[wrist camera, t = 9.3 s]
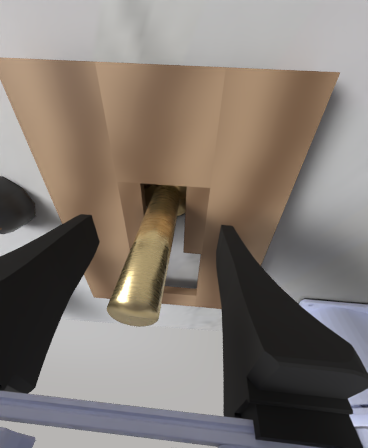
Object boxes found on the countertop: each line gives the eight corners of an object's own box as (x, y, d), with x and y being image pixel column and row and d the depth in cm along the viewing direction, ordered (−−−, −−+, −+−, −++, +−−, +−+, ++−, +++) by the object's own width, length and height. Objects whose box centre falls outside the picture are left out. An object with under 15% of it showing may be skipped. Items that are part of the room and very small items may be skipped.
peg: (193, 165, 14) (182, 284, 6) (194, 211, 17) (186, 340, 9) (139, 166, 14) (62, 279, 7) (147, 211, 17) (98, 334, 9)
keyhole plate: (316, 72, 11) (340, 72, 9) (239, 291, 23) (242, 310, 21) (25, 59, 11) (-10, 57, 9) (102, 279, 23) (93, 297, 22)
